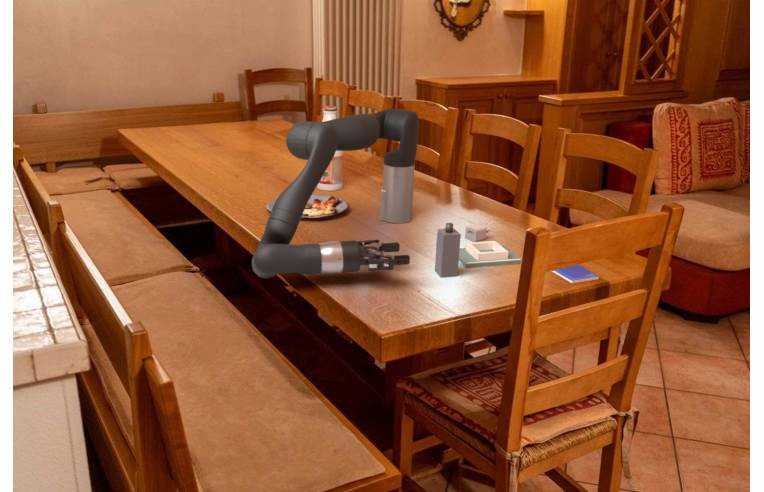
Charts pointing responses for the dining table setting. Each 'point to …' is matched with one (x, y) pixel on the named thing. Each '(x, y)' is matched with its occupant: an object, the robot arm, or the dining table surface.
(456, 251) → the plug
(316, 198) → the food plate
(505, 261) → the board
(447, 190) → the dining table surface
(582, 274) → the blue book
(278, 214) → the robot arm
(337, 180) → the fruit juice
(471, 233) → the usb wall charger
